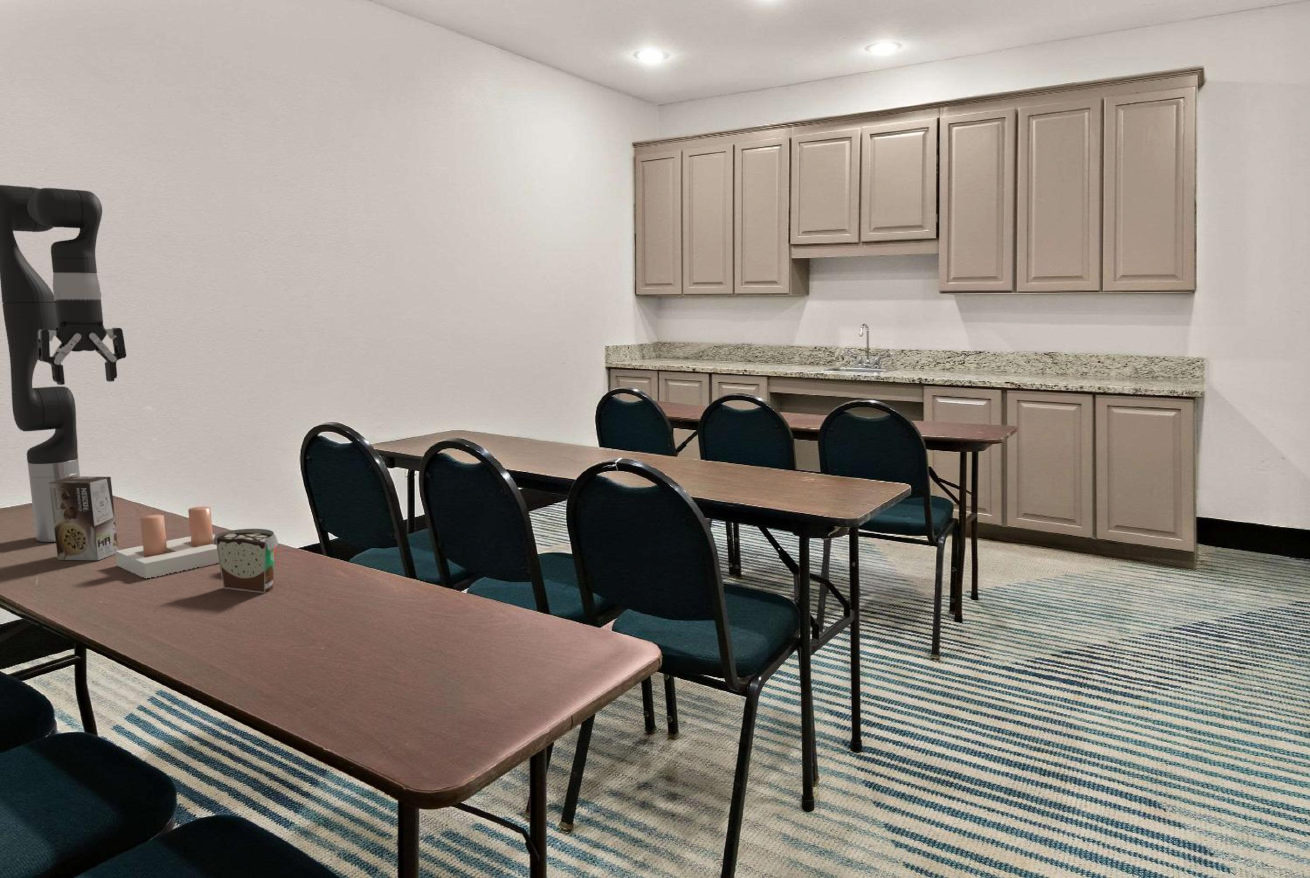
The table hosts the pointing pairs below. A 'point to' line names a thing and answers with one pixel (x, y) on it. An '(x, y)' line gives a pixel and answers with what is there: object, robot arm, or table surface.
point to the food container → (247, 559)
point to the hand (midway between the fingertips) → (86, 382)
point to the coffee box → (83, 518)
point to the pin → (153, 535)
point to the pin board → (176, 550)
